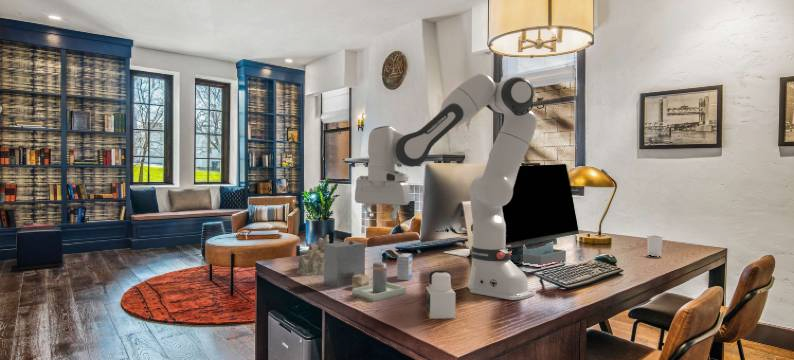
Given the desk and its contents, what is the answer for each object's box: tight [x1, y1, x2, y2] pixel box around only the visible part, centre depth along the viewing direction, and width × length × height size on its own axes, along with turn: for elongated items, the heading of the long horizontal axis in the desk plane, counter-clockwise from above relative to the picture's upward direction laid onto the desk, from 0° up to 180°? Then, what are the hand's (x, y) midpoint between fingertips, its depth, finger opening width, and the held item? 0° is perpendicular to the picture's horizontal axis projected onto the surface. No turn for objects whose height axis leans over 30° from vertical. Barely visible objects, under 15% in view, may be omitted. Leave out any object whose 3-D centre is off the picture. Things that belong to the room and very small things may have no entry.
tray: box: [351, 281, 407, 303], centre depth 145 cm, size 10×14×2 cm
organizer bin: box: [523, 248, 567, 265], centre depth 199 cm, size 14×22×5 cm, turn 133°
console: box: [323, 240, 366, 289], centre depth 159 cm, size 9×12×15 cm
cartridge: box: [372, 262, 388, 293], centre depth 144 cm, size 4×4×9 cm
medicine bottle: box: [425, 270, 456, 320], centre depth 124 cm, size 7×7×12 cm
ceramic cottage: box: [296, 234, 331, 277], centre depth 178 cm, size 16×16×15 cm
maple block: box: [351, 274, 370, 289], centre depth 153 cm, size 4×4×4 cm
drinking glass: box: [646, 234, 664, 256], centre depth 218 cm, size 7×7×10 cm
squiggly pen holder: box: [523, 241, 554, 256], centre depth 203 cm, size 18×10×9 cm, turn 114°
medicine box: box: [396, 252, 413, 281], centre depth 168 cm, size 8×4×9 cm, turn 169°
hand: (381, 217), depth 147 cm, fingers open, 8 cm apart
